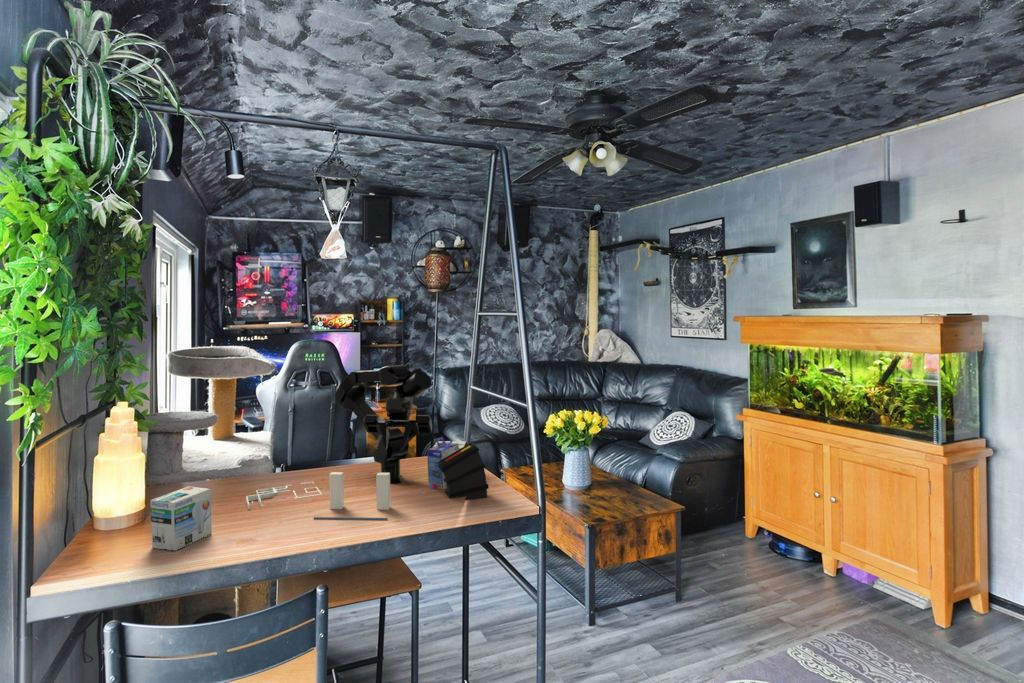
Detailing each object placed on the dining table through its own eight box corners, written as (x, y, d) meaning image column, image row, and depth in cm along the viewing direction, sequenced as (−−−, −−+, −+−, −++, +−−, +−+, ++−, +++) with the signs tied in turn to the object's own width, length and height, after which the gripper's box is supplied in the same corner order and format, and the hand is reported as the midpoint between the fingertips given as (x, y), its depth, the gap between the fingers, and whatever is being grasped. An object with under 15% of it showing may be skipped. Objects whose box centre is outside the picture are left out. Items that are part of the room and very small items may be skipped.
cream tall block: (332, 506, 148) (332, 472, 148) (344, 506, 148) (343, 472, 148) (329, 509, 146) (329, 474, 146) (341, 509, 146) (340, 474, 146)
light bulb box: (175, 552, 123) (173, 502, 123) (150, 548, 125) (148, 500, 124) (213, 533, 133) (212, 487, 133) (190, 530, 135) (188, 485, 135)
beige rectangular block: (378, 506, 148) (378, 472, 147) (390, 507, 148) (390, 472, 147) (376, 509, 146) (376, 474, 145) (388, 509, 146) (388, 474, 145)
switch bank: (331, 506, 151) (331, 500, 151) (398, 507, 151) (398, 501, 151) (313, 523, 139) (313, 517, 139) (387, 524, 139) (387, 518, 139)
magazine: (498, 490, 159) (476, 444, 156) (457, 516, 155) (433, 469, 152) (494, 486, 163) (472, 441, 160) (453, 511, 159) (430, 465, 156)
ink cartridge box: (444, 481, 173) (444, 434, 173) (460, 483, 171) (460, 435, 170) (426, 490, 165) (426, 440, 164) (443, 493, 162) (442, 442, 161)
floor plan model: (251, 524, 141) (251, 516, 141) (244, 495, 162) (243, 488, 162) (330, 511, 150) (330, 503, 150) (312, 485, 172) (312, 479, 171)
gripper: (364, 386, 161) (352, 433, 151) (430, 386, 161) (423, 434, 150) (372, 409, 170) (361, 455, 159) (435, 409, 169) (428, 456, 159)
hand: (393, 450), depth 157 cm, fingers open, 4 cm apart
